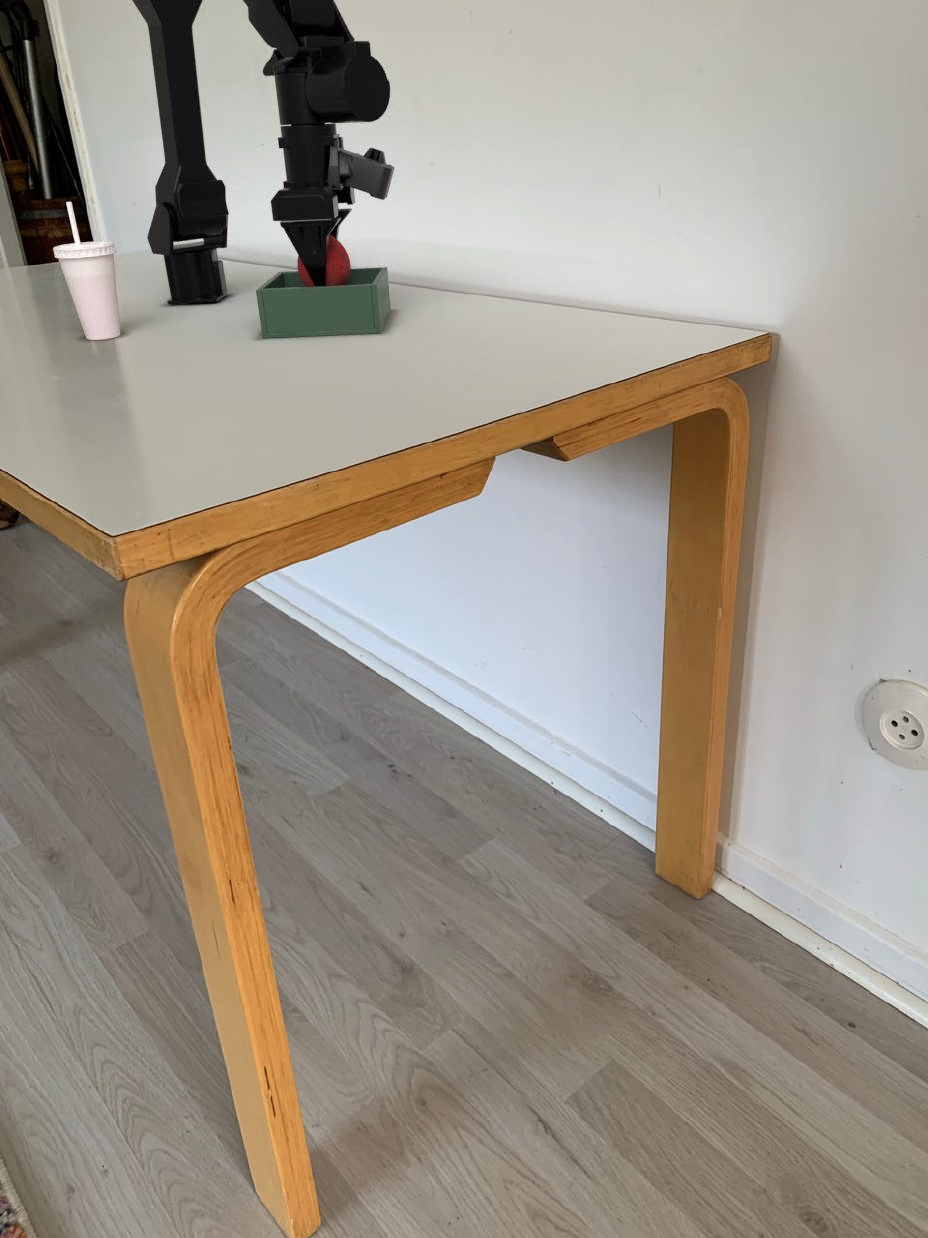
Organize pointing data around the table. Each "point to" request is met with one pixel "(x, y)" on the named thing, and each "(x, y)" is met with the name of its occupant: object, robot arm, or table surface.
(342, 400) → the table surface
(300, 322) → the green storage bin
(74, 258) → the smoothie
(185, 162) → the robot arm
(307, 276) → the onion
